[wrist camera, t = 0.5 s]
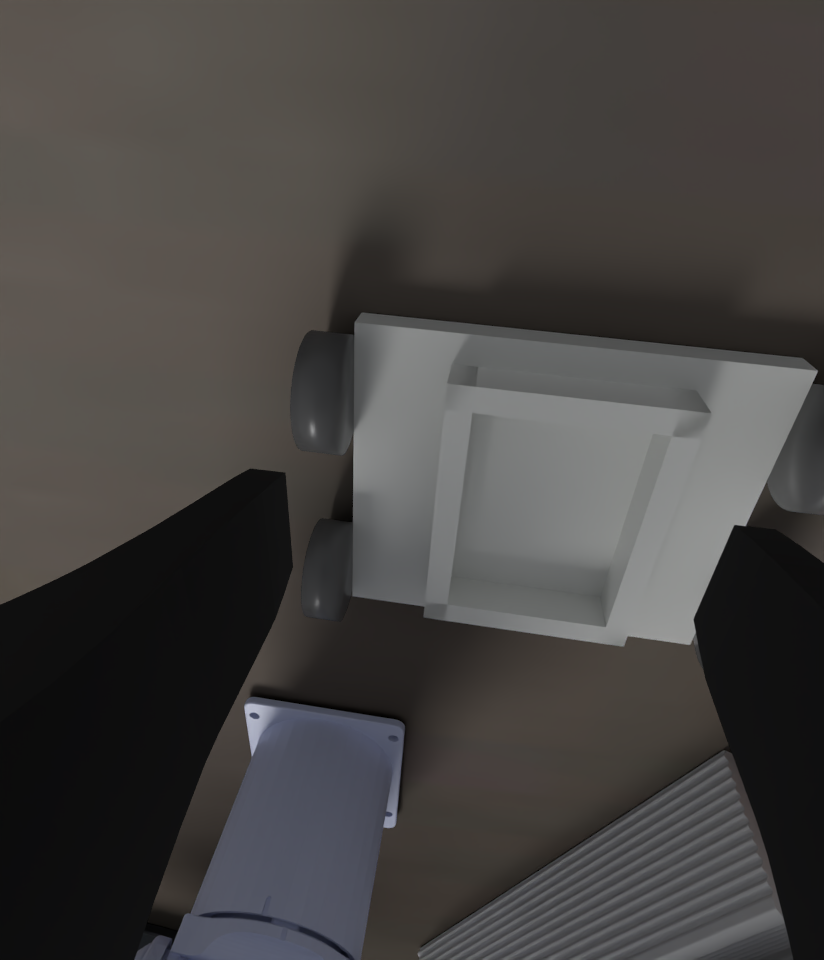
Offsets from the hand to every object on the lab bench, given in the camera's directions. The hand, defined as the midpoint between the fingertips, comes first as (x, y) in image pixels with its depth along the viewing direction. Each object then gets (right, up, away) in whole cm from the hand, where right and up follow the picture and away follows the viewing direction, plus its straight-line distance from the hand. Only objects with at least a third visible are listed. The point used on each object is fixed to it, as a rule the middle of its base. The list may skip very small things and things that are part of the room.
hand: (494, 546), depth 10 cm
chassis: (+3, +1, +11) cm, 11 cm away
